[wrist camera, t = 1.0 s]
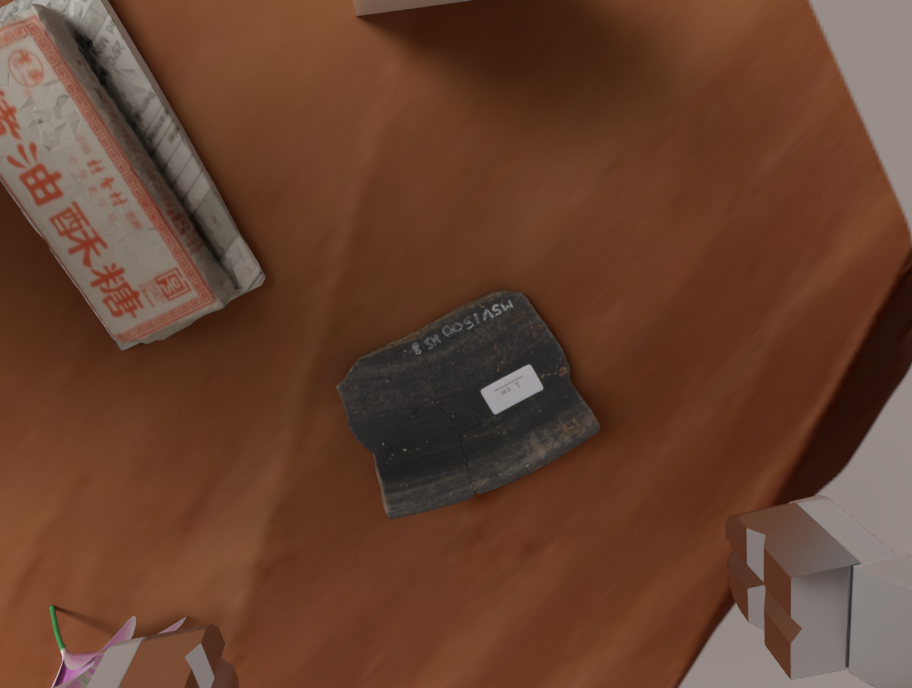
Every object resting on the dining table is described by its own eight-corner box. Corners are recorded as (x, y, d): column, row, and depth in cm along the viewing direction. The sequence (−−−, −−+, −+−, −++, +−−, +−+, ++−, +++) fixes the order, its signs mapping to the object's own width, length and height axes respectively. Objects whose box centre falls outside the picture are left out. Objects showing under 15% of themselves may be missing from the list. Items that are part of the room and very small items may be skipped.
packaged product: (261, 299, 35) (98, 376, 35) (273, 277, 39) (129, 346, 40) (50, -54, 28) (-147, 45, 29) (94, -32, 33) (-77, 54, 33)
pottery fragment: (525, 271, 41) (542, 288, 37) (589, 419, 45) (610, 448, 41) (319, 371, 42) (314, 398, 38) (401, 508, 46) (404, 546, 42)
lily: (51, 692, 49) (69, 817, 42) (-83, 638, 40) (-86, 784, 34) (191, 587, 51) (229, 689, 45) (92, 517, 43) (121, 630, 37)
